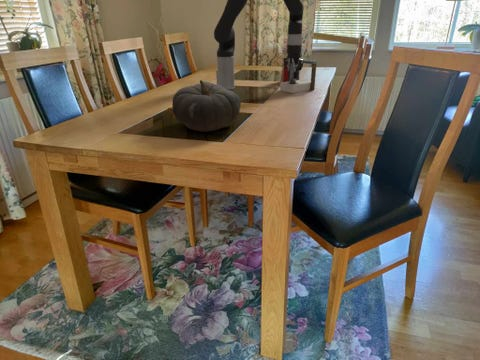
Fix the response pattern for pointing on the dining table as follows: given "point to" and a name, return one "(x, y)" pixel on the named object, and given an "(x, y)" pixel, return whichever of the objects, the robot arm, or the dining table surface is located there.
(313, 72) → the grey arch
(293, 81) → the peg
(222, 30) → the robot arm
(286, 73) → the milk carton
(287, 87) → the socket block
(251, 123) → the dining table surface
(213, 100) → the gourd
